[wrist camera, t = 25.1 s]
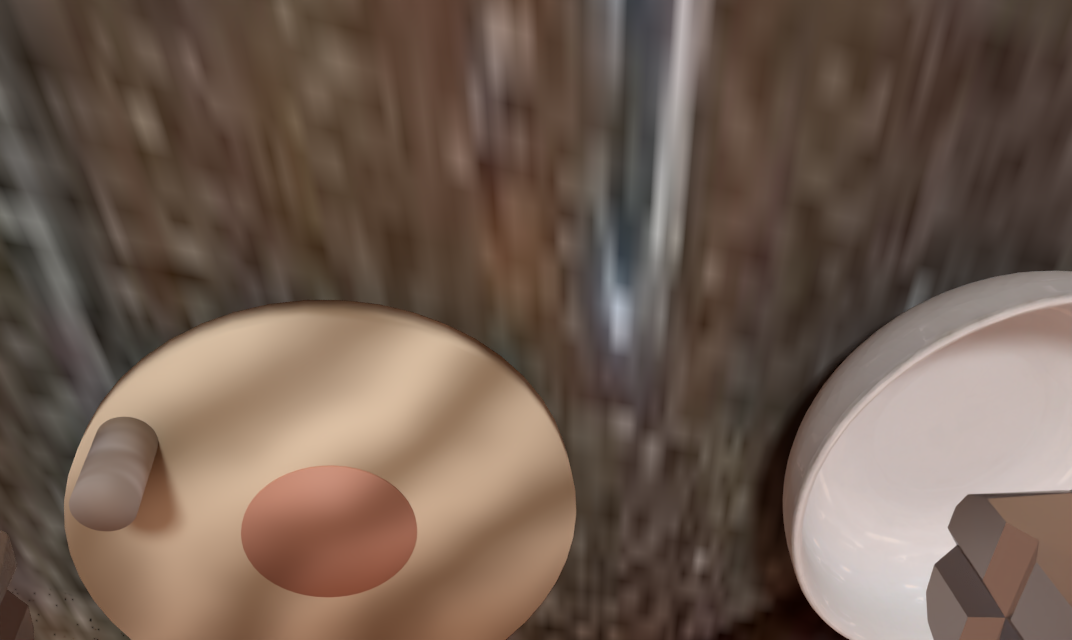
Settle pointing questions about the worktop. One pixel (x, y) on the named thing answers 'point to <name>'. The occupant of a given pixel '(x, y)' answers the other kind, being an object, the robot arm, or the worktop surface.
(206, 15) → the worktop surface
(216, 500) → the round wooden board
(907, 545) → the serving bowl
